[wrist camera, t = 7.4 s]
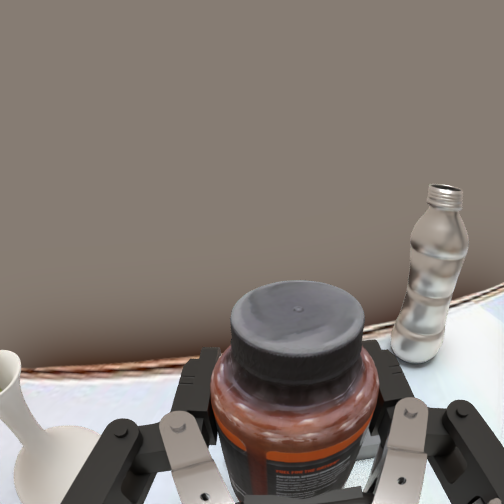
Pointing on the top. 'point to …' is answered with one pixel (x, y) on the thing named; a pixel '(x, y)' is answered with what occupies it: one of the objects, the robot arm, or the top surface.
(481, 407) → the top surface
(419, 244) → the plastic bottle
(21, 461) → the flower in vase
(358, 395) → the supplement bottle
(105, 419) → the top surface
